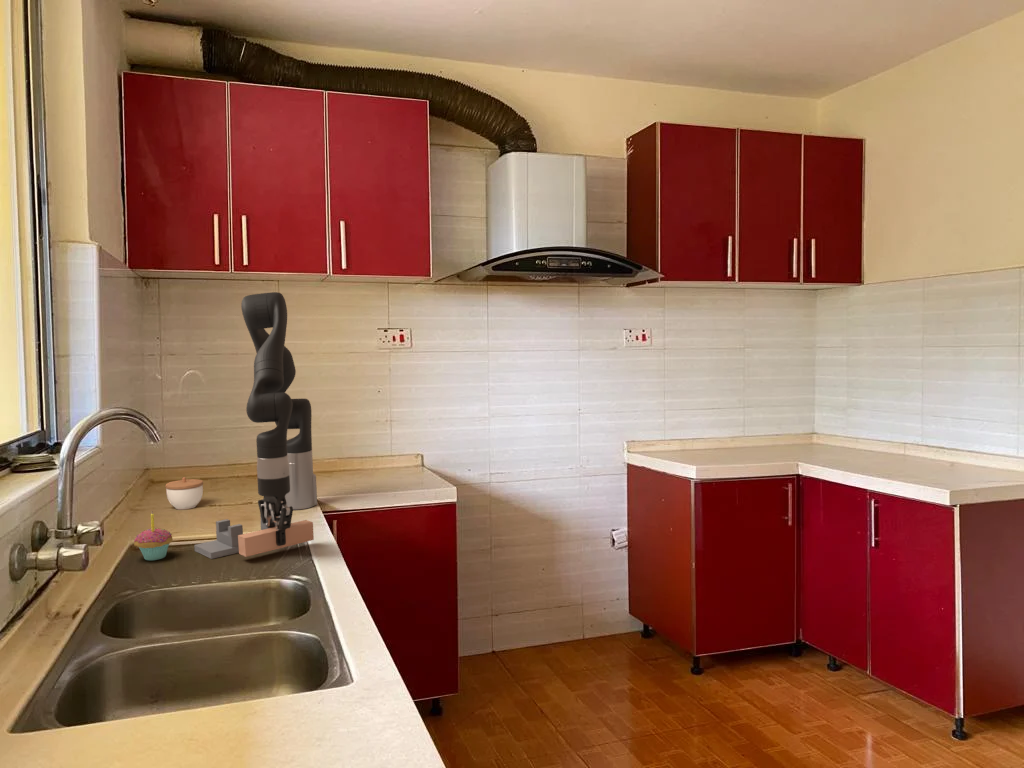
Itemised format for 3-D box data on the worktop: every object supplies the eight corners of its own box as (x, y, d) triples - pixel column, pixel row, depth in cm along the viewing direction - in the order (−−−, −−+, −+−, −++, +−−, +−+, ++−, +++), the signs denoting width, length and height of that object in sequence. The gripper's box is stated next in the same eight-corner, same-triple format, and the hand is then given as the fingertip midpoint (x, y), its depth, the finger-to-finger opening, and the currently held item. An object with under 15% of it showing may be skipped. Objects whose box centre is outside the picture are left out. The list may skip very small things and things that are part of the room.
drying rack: (289, 529, 213) (288, 506, 212) (308, 536, 206) (307, 512, 205) (194, 550, 195) (193, 525, 194) (211, 559, 188) (209, 532, 187)
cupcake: (175, 559, 188) (172, 510, 187) (136, 565, 184) (133, 515, 183) (171, 550, 196) (168, 503, 195) (134, 556, 192) (130, 508, 191)
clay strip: (306, 537, 199) (305, 519, 198) (313, 539, 196) (312, 522, 196) (239, 553, 186) (238, 535, 186) (245, 556, 184) (244, 538, 183)
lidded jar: (210, 506, 242) (208, 476, 241) (175, 513, 234) (173, 482, 233) (195, 501, 249) (194, 472, 249) (161, 507, 242) (159, 477, 241)
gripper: (301, 475, 187) (305, 545, 189) (273, 468, 197) (277, 534, 199) (272, 481, 182) (276, 553, 183) (245, 473, 192) (249, 541, 194)
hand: (277, 543), depth 191 cm, fingers closed on clay strip, 3 cm apart
